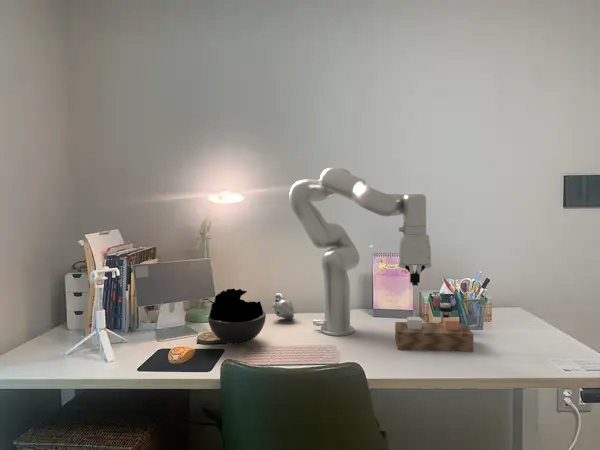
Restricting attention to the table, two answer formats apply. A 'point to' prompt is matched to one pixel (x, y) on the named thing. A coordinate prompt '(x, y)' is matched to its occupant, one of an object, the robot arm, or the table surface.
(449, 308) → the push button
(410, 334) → the button box
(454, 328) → the orange block
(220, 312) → the coal bowl
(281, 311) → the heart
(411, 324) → the grey plunger
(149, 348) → the table surface
